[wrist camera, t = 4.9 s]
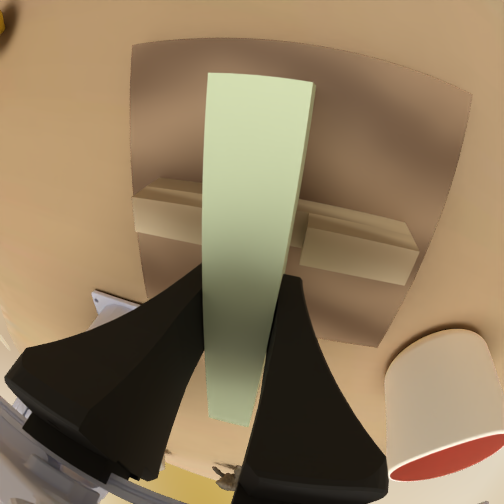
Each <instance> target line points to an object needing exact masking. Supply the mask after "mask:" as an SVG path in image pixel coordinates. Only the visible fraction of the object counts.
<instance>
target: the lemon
mask: <svg viewBox="0 0 504 504" xmlns="http://www.w3.org/2000/svg"><path fill="white" fill-rule="evenodd" d="M4 30H5V24H4V19H3V14H2V12H1V10H0V34H1V33H2V32H3V31H4Z"/></svg>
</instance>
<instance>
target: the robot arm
mask: <svg viewBox="0 0 504 504" xmlns="http://www.w3.org/2000/svg"><path fill="white" fill-rule="evenodd" d="M92 298H93V301H94V304H95V307H96V309H97V312H98V316H97V317H96V319H95V320H94V321H93V323H92V324H91V325H90V326H89V328H88V329H87V330H86V332H83V333H80V334H77V335H75V336H71V337H68V338H65V339H62V340H58V341H55V342H51V343H46V344H42V345H38V346H34V347H28V348H26V349H25V350H24V352H23V353H22V354H21V355H20V357H19V358H18V359H17V361H16V362H15V364H14V365H13V366H12V367H11V369H10V370H9V371H8V373H7V374H6V376H5V377H4V378H5V383H6V384H7V385H8V387H9V388H10V389H11V390H12V391H13V393H14V394H15V395H16V396H17V398H16V400H15V402H14V403H13V405H12V406H11V405H10V404H9V403H8V402H6V401H5V400H4V399H3V398H2V397H1V396H0V504H99V503H100V501H101V499H103V498H104V497H105V496H106V495H107V493H108V492H110V493H112V494H114V495H116V496H118V497H120V498H122V499H124V500H127V501H129V502H131V503H133V504H187V503H184V502H181V501H178V500H175V499H172V498H169V497H166V496H164V495H161V494H158V493H156V492H153V491H151V490H148V489H146V488H144V487H141V486H139V485H136V484H134V483H132V482H130V481H128V479H129V477H131V478H133V479H135V480H138V481H139V480H140V478H141V479H143V480H146V481H151V480H154V479H156V478H158V474H159V470H160V466H161V463H162V459H163V456H164V452H165V449H166V445H167V442H168V439H169V436H170V432H171V429H172V426H173V423H174V420H175V417H176V414H177V412H178V409H179V406H180V403H181V400H182V398H183V395H184V392H185V389H186V387H187V384H188V382H189V380H190V378H191V375H192V373H193V371H194V369H195V367H196V365H197V363H198V361H199V359H200V357H201V355H202V353H203V351H204V326H203V293H202V263H200V264H199V265H198V266H197V267H195V268H194V269H193V270H191V271H190V272H189V273H187V274H186V275H185V276H183V277H182V278H181V279H179V280H178V281H176V282H175V283H174V284H172V285H171V286H169V287H168V288H167V289H165V290H164V291H162V292H161V293H159V294H158V295H156V296H155V297H153V298H152V299H150V300H148V301H147V302H145V303H144V304H142V305H139V304H135V303H132V302H129V301H126V300H123V299H120V298H117V297H114V296H111V295H108V294H105V293H102V292H99V291H96V290H94V291H93V292H92ZM388 483H389V477H388V467H387V460H386V456H385V455H384V454H383V452H382V451H381V450H380V449H379V447H378V446H377V445H376V444H375V442H374V441H373V440H372V438H371V437H370V436H369V434H368V433H367V432H366V430H365V429H364V427H363V426H362V424H361V423H360V421H359V420H358V419H357V417H356V416H355V414H354V412H353V411H352V409H351V407H350V406H349V404H348V402H347V401H346V399H345V397H344V396H343V394H342V392H341V391H340V389H339V387H338V385H337V383H336V381H335V379H334V377H333V375H332V373H331V371H330V369H329V367H328V365H327V363H326V360H325V358H324V356H323V353H322V351H321V348H320V346H319V343H318V340H317V338H316V335H315V332H314V329H313V326H312V323H311V319H310V316H309V313H308V309H307V305H306V300H305V296H304V290H303V280H302V279H301V278H300V277H297V276H292V275H287V274H283V277H282V281H281V285H280V289H279V294H278V298H277V303H276V308H275V313H274V318H273V323H272V328H271V332H270V337H269V342H268V346H267V352H266V359H265V366H264V373H263V380H262V387H261V394H260V400H259V405H258V409H257V413H256V417H255V420H254V424H253V428H252V432H251V436H250V439H249V443H248V447H247V450H246V454H245V458H244V461H243V465H242V468H241V472H240V475H239V479H238V482H237V486H236V489H235V492H234V496H233V499H232V502H231V504H368V503H371V502H374V501H377V500H379V499H381V498H383V497H384V496H385V495H386V494H387V493H388ZM479 504H489V502H488V501H485V502H482V503H479Z"/></svg>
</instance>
